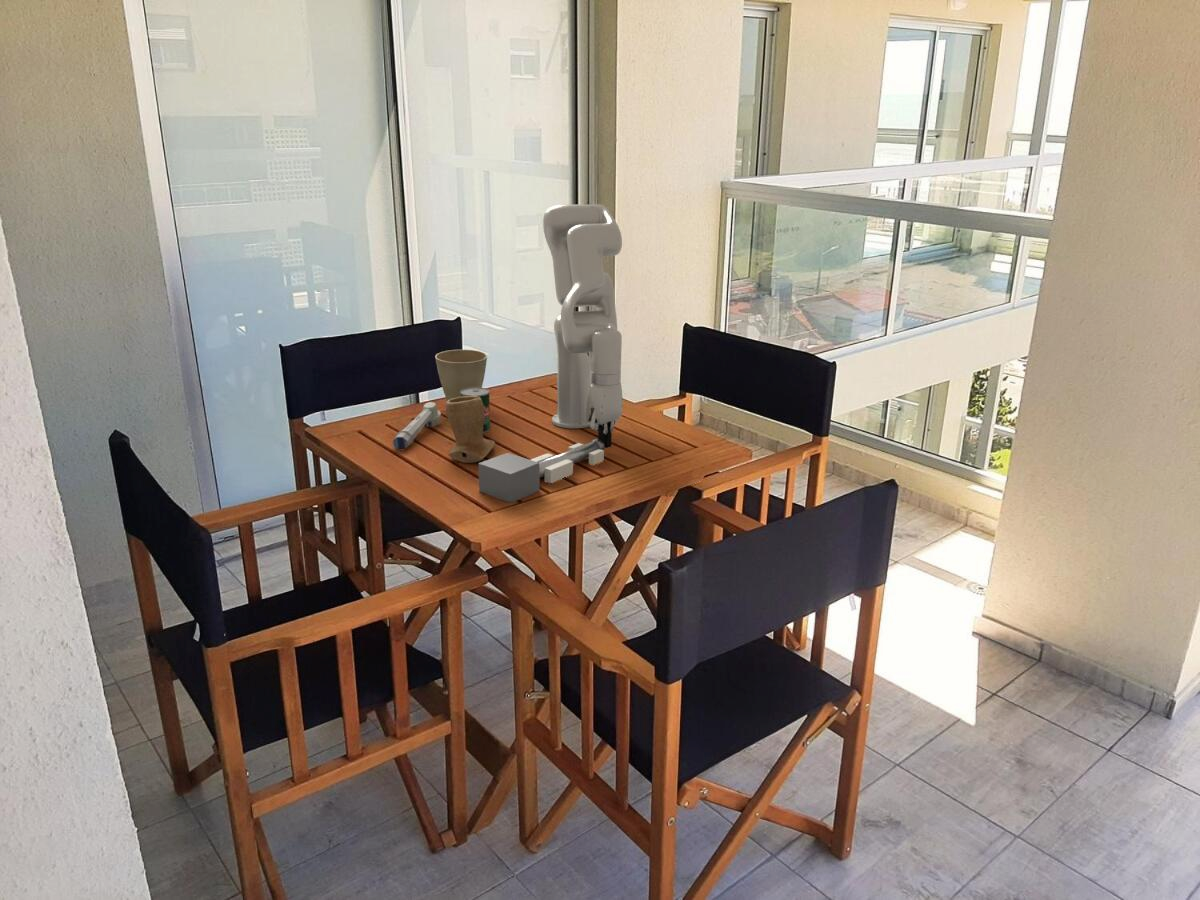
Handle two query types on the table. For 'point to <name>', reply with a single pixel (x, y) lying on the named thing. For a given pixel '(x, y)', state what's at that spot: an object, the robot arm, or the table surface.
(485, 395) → the canned tomato
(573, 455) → the slip tube
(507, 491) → the socket block
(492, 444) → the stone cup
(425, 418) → the white handheld tool
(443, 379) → the plant pot
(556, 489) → the table surface
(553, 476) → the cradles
